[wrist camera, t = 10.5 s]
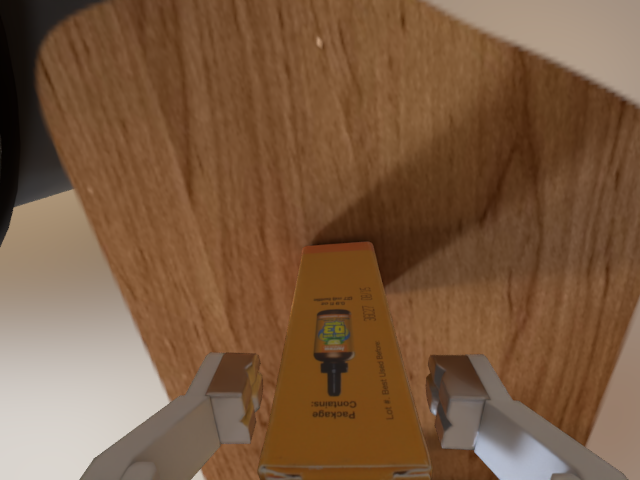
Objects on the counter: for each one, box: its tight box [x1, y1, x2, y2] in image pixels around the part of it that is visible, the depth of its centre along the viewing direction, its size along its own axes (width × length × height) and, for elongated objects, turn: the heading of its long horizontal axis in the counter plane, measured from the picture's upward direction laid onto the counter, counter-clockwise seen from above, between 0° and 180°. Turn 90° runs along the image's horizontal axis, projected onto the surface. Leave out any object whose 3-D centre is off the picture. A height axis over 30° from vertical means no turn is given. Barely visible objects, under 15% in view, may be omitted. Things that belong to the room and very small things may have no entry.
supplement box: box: [258, 241, 433, 480], centre depth 11 cm, size 3×3×10 cm
